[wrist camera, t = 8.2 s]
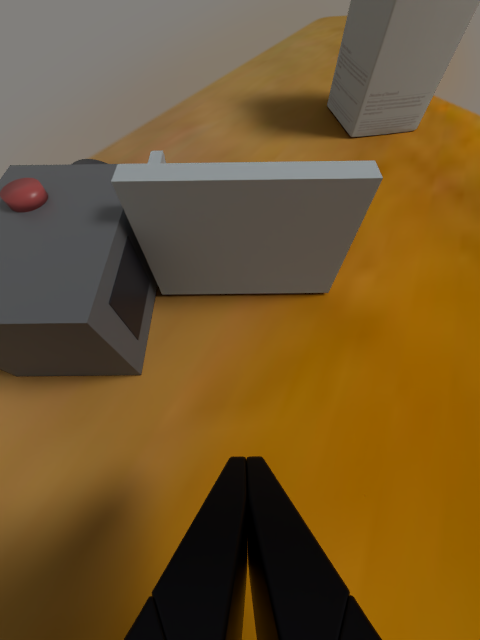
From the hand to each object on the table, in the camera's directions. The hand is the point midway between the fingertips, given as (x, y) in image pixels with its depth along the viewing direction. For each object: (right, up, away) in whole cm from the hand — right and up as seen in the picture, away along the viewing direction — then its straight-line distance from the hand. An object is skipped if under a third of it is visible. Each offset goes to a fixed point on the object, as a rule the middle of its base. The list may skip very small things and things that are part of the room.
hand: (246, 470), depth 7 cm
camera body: (-9, +6, +11) cm, 16 cm away
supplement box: (+14, +26, +22) cm, 37 cm away
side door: (0, +8, +12) cm, 15 cm away
